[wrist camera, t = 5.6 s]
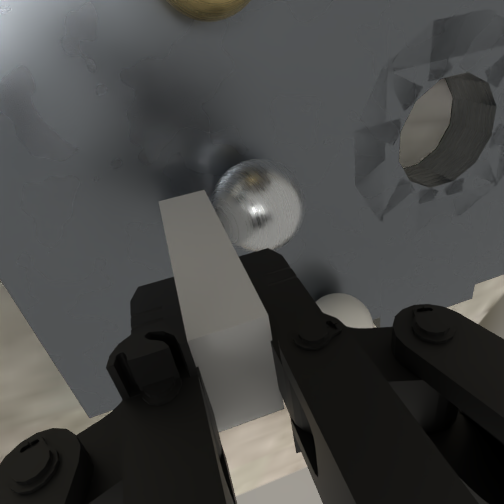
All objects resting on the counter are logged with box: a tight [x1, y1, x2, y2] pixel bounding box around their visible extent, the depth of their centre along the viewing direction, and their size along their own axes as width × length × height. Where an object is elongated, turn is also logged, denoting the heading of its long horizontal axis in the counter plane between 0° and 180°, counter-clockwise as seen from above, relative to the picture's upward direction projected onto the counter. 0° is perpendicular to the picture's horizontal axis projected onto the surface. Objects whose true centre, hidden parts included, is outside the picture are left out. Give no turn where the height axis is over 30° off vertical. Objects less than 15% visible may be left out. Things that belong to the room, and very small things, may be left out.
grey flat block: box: [0, 0, 504, 418], centre depth 16 cm, size 24×20×2 cm
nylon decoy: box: [316, 293, 374, 328], centre depth 17 cm, size 3×3×3 cm
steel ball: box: [211, 159, 305, 253], centre depth 13 cm, size 3×3×3 cm
